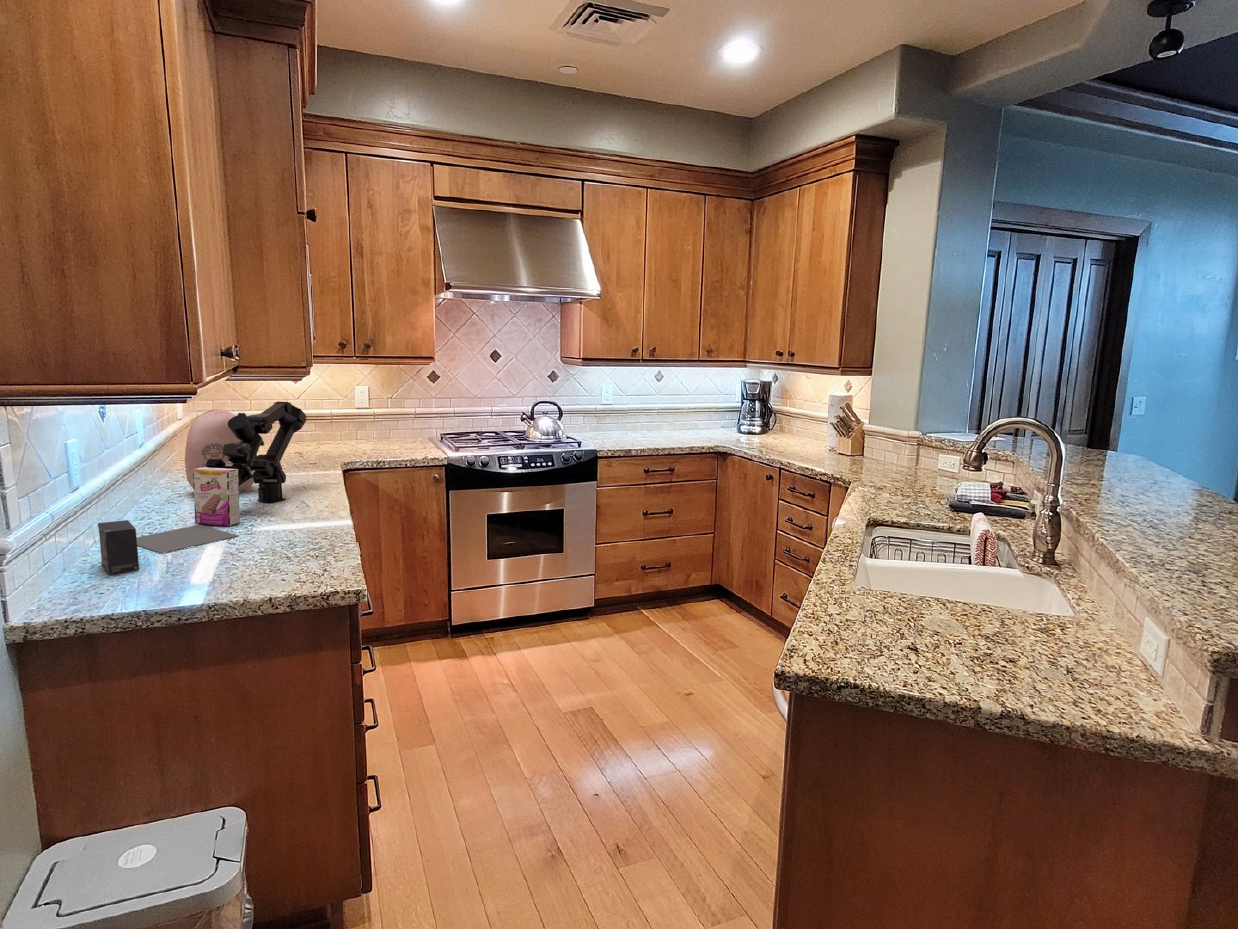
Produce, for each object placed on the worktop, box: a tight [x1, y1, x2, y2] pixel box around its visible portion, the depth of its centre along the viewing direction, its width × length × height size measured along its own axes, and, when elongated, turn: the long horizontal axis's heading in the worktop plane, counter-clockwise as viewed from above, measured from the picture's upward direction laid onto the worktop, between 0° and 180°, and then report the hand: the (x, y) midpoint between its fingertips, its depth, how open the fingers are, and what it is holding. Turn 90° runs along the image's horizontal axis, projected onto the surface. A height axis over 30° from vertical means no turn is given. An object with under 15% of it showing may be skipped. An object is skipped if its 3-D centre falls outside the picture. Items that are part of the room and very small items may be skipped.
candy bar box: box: [193, 467, 241, 527], centre depth 205 cm, size 11×5×16 cm, turn 84°
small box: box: [97, 519, 140, 576], centre depth 166 cm, size 11×6×10 cm, turn 43°
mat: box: [136, 524, 240, 554], centre depth 191 cm, size 20×20×1 cm
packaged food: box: [184, 408, 255, 492], centre depth 243 cm, size 22×20×30 cm
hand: (230, 490), depth 212 cm, fingers closed
